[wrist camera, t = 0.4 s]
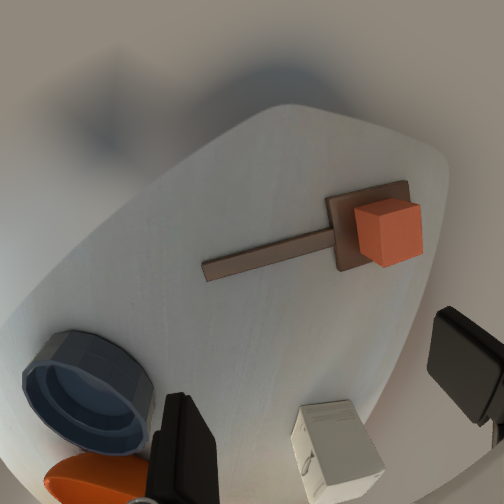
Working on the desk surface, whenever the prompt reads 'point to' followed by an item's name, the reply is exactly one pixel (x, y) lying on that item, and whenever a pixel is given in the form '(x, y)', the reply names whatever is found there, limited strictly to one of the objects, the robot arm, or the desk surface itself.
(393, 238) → the block
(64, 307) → the desk surface
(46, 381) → the faceted gray tray
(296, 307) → the desk surface
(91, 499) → the bowl
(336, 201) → the brown paddle
